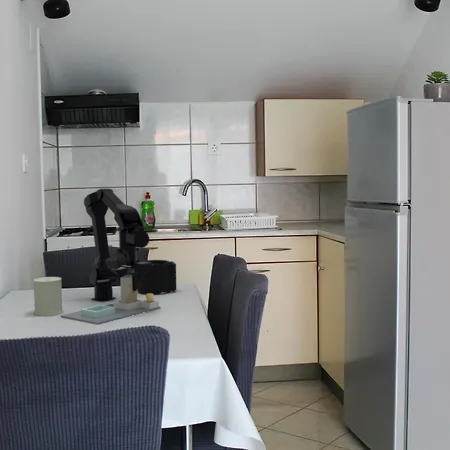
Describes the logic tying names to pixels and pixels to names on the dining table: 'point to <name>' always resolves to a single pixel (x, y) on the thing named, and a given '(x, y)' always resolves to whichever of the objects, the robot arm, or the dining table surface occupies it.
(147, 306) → the frame
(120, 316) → the grey board
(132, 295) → the box
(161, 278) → the black basket
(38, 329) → the dining table surface
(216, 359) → the dining table surface
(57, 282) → the can
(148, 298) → the button
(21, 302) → the dining table surface
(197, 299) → the dining table surface
